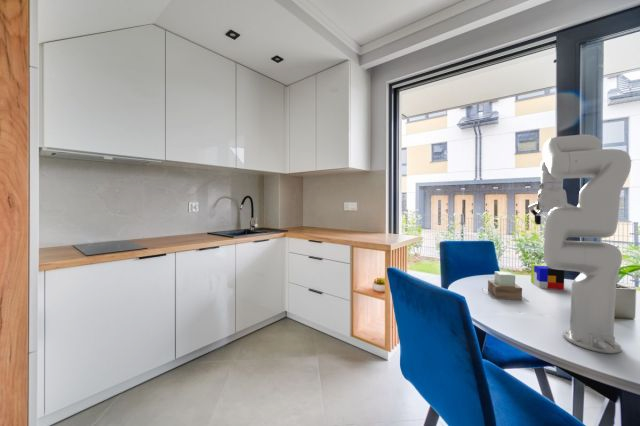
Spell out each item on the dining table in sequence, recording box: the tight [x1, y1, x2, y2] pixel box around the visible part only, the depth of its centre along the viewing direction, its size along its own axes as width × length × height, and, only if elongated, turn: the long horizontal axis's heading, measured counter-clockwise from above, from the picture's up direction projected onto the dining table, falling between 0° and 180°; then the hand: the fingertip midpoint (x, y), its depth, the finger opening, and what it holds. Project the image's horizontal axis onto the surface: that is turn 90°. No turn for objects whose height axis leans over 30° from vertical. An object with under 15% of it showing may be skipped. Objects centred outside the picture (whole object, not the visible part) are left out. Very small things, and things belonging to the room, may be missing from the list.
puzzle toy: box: [530, 263, 566, 291], centre depth 138 cm, size 10×10×10 cm
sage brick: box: [494, 270, 516, 286], centre depth 122 cm, size 6×6×5 cm
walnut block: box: [487, 279, 523, 300], centre depth 122 cm, size 10×10×5 cm
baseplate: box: [482, 288, 530, 303], centre depth 123 cm, size 14×14×1 cm
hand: (550, 224), depth 122 cm, fingers open, 9 cm apart
